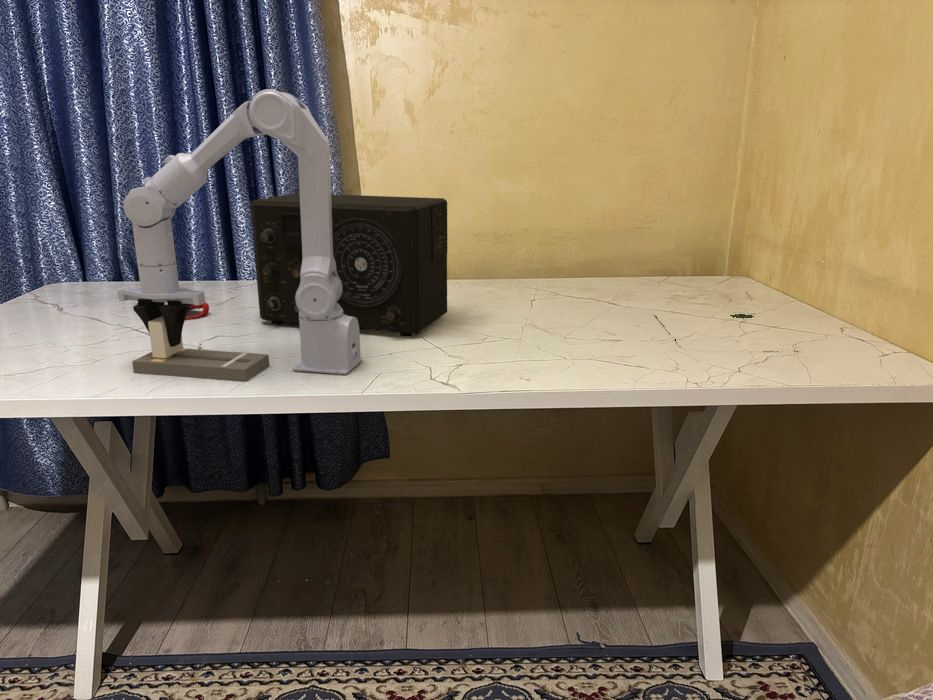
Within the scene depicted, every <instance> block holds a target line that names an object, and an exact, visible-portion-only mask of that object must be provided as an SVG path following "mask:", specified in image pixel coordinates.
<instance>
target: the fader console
mask: <svg viewBox="0 0 933 700" xmlns="http://www.w3.org/2000/svg"><path fill="white" fill-rule="evenodd" d="M131 362H132V368H133V373H134V374H144V375H145V374H147V375H158V376H160V375H161V376H173V377H183V378H184V377H185V378H197V379H208V378H209V380H210V379H211V380H223V381H236V382H248V381H249V380H251V379H252V378H253V377H255V376H256V375H259V374H260V373H261V372H262V371H264V370H265V369H267V368H268V367H270V356H269V354H264V353H255V352H254V353H253V352H252V353H251V352H240V351H239V352H237V351H226V350H212V349H211V350H209V349H196V348H184V347H183V350H181V351H179V352H177V353H175V354H173V355H171V356H169V357H167V358H158V357H153V355H152V351H151V352H149V353H146V354H144V355H142V356H140V357H138V358H136V359H134V360H132V361H131Z"/></svg>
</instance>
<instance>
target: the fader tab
mask: <svg viewBox="0 0 933 700" xmlns="http://www.w3.org/2000/svg"><path fill="white" fill-rule="evenodd" d="M148 325H149V332H148V334H149V333H150V334H149V339H150V346H151V347H150V348H151V352H152V355H153V357H158V358H167V357H169V356H171V355H173V354H175V353H177V352H179V351H181V350H183V348H184V342H183V334H182V335H181V343H180V344H178V345H176V346H174V347H170V345H169V341H168V336H167V329H166V325H165V322H164V319H163V316H161V317H159V318H156V319H154V320H151V321H149V322H148Z"/></svg>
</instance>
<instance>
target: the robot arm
mask: <svg viewBox="0 0 933 700" xmlns="http://www.w3.org/2000/svg"><path fill="white" fill-rule="evenodd" d="M264 135H267V136H269V137H272V138H274V139H276V140H277V141H279V142H281V143H282V144H283V145H284V146H285V147H287V148H288V149H289V150H290V151H291V152H293V154H295V155H296V156H297V162H298V163H297V164H298V166H297V167H298V168H297V169H298V185H299V187H298V188H299V193H300V212H301V234H302V256H303V259H302V266H301V272H300V277H301V281H300V285H299V288H298V290H297V292H296V296H295V301H296V305H297V307H298V309H299V310H300V311H299V323H298V325H299V338H300V340H299V341H300V352H301V361H300V362H298V363H296V364H295V365H294V366H293V367H292V371H296V372H310V373H322V374H324V373H325V374H334V375H335V374H336V375H347V374H348V373H349V372H351V371H352V370H353V369H355V367H356V366H358V364H359V363H361V362H362V361H363V358H362V357H361V338H360V337H361V334H360V333H361V332H360V329H359V323H358V320H357V318H355V317H352V316H347V315H345V314H343V309H342V308H341V307H340V305H339V304H338V303H337V301H338V300H339V298H340V297H341V294H342V283H341V280H340V279H339V277H338V275H337V272H336V262H335V259H334V256H333V236H332V206H331V194H332V183H331V182H332V181H331V180H332V179H331V152H330V151H331V150H330V142H329V140H328V138H327V137H326V135H325V134H324V132H323V131H322V128H320V126H319V124H318V122H317V121H316V120H315V118H314V117H313V115H312V113H311V111H310V109H309V107H308V106H307V105H306V104H304V103H303V102H302V101H300V100H299V99H298V98H297V97H296V96H294V95H292V94H291V93H288V92H286V91H285V92H284V91H279V90H276V89H271V88H269V89H268V88H267V89H263V90H260V91H258V92H257V93H256V94H254V96H253V97H252V98H251V100H247V101H245V102H244V103H242V104H241V105H239V107H237V108H236V109H235V110H234V111H233V112H232V113H230V115H229V116H228V117H227V118H226V119H224V121H222V123H220V125H219V126H218V127H217V128H216V129H215V130H214V131H213V132H212V133H210V134H209V135H208V136H207V137H206V139H205V140H203V141H202V142H201V143H200V144H199V145H198V146H197V147H196V148H195V149H194V150H193V151H192V152H191V153H183V152H179V153H177V154H176V155H174V154H170V155H168V156H167V157H166V158H165V159H164V160H163V161H164V162H165V165H164V166H162V168H160V169H159V170H158V171H157V172H156V173H155V174H153V175H152V176H147V177H145V178H144V179H143V181H142V182H143V184H144V186H143V187H140V186H139V187H136V188H135V187H134V188H132V189H130V190H129V192H128V194H126V196H125V198H124V201H123V212H124V214H125V216H126V218H127V219H128V220H130V221H131V223H132V225H131V226H132V231H133V232H132V233H133V239H134V240H133V241H134V247H135V254H136V256H135V257H136V261H137V270H138V278H139V284H140V286H123V287H120V288H117V296H118V301H119V302H126V301H136V302H137V303H136V304H135V305H133V306H132V307H133V309H132V310H133V311H134V312H135V314H136V315H137V316H138V317H139V319H140V320H141V321H142V323H143V325H144V327H146V330H147V332H148V334H149V335H150V333H149V325H148V322H149V321H151V320H154V319H156V318H159V317H161V316H163V319H164V322H165V325H166V329H167V336H168V341H169V345H170V347H174V346H176V345H178V344H180V343H181V335H182V336H183V334H182V333H183V328H184V325H185V321H186V320H185V318H186V317H187V315H188V312H189V311H188V310H189V308H190V306H191V304H193V305H201V304H203V303H205V302H206V296H205V291H204V290H195V289H190V288H184V287H180V283H179V276H178V268H177V267H178V266H177V259H176V252H175V244H174V243H175V242H174V235H173V228H172V218H173V217H174V215H175V213H176V209H177V208H179V207H180V206H181V205H182V204H184V203H185V202H186V201H187V200H188V199H190V197H191V196H193V195H194V194H195V193H196V192H197V191H198V190H200V188H202V187H203V186H204V185H205V184H206V183H207V181H208V170H209V169H210V168H212V166H213V165H215V164H216V163H217V162H218V161H219V160H221V159H222V158H224V157H225V156H226V155H227V154H228V153H229V152H231V151H232V150H233V149H234V148H235V147H237V146H238V145H239V144H240V143H241V142H243V141H244V140H246V139H248V138H254V137H259V136H264ZM165 303H166V305H164V304H165Z"/></svg>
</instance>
